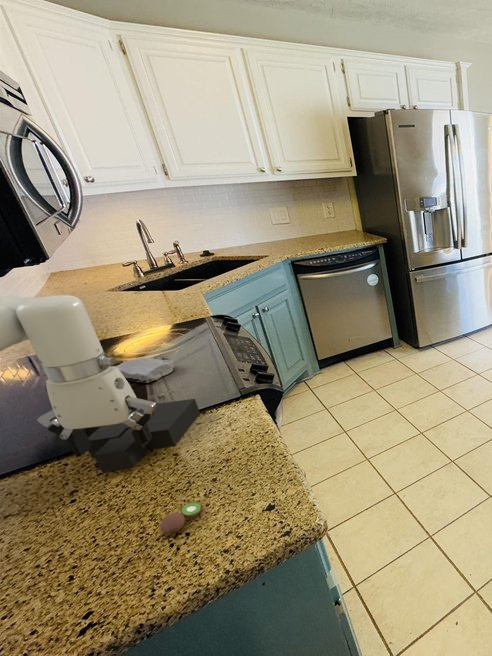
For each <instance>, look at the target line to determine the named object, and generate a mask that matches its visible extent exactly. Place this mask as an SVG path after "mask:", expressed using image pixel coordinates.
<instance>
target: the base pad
mask: <svg viewBox="0 0 492 656" xmlns="http://www.w3.org/2000/svg"><path fill="white" fill-rule="evenodd" d="M137 412H139V413H141V414H142V415H143V414H144V411H143V410H142V409H139V410H138V411H137ZM200 415H201V412H200V408H199V406H198V404H197V401H196V398H190V399H182V400H174V401H167V402H157V403H156V408H155V411H154V415H153V416H152V417H151V419H150V420H149V421H148V422H147V425H148V427H149V430H150V432H151V435H152V438H151V440H150V441H149V443H148V444H147V445H146V447H147V449H148V451H149V450H155V449H162V448H168V447H174V446H176V445H177V444H178V442H179V441H180V440H181V439H182V437H183V436H184V435H185V433H187V431H188V430H189V428H190V427H191V426H192V425H193V423H195V421H196V420H197V419H198V417H199V416H200ZM130 418H131V419H133V420H135V421H137V420H136V419H134V418H132V417H130ZM137 422H138V421H137ZM130 428H131V427H129V426H127V425H125V424H124V423H120V424H114V425H106V426H99V427H98V428H97V429H96V430H94V432H93V433H91V434H90V435H89V436H87V437H88V439H89V441H90V443H91V448H90V449H89V450H88V451H87V452H88V453H89V454H90V456H91V458H92V459H95V457H94V454H95V453H96V452H97V451H99V450H100V449H101V448H102V447H103V446H104V445H105V444H106V443H107V442H108V441H109V440H110V439H114V438H120V437H121V436H122V435H123V434H124V433H125V432H126V431H127V430H128V429H130Z"/></svg>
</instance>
